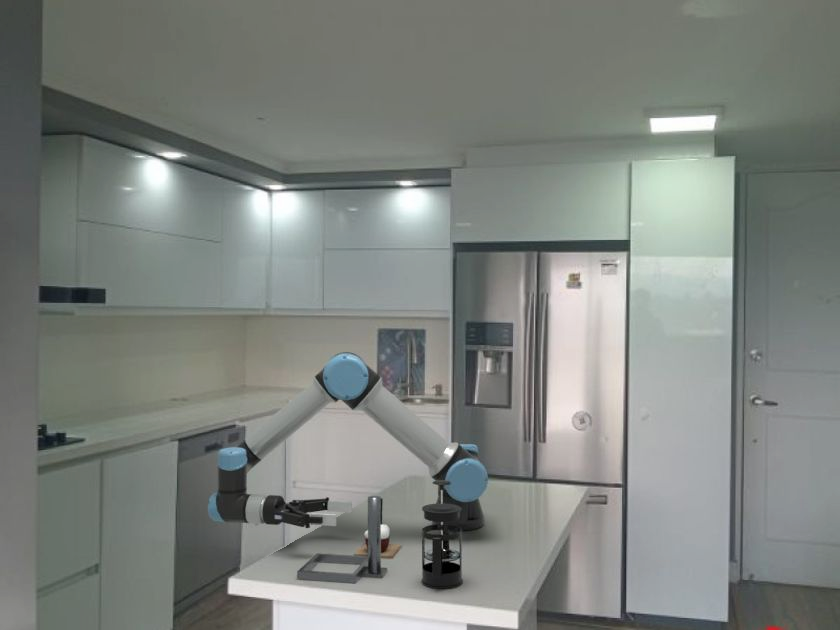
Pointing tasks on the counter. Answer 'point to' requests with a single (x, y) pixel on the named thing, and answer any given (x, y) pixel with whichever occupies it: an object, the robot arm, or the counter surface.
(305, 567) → the ring stand
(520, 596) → the counter surface
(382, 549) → the cocoa
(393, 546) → the walnut coaster
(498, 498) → the counter surface
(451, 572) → the french press
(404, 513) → the counter surface
